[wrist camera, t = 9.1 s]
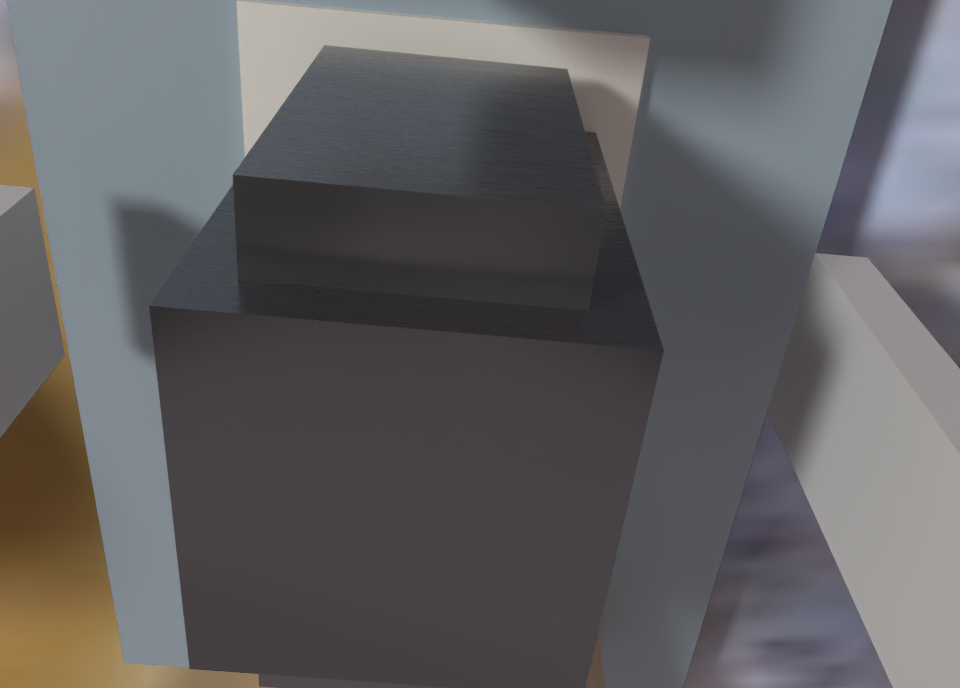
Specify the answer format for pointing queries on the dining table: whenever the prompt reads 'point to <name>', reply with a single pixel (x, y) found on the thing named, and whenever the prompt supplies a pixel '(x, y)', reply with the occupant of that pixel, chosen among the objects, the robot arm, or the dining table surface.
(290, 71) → the rig
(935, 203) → the dining table surface
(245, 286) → the stepped grey block
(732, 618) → the dining table surface
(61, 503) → the dining table surface
